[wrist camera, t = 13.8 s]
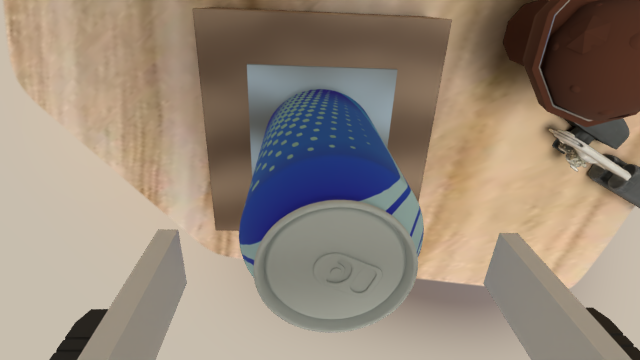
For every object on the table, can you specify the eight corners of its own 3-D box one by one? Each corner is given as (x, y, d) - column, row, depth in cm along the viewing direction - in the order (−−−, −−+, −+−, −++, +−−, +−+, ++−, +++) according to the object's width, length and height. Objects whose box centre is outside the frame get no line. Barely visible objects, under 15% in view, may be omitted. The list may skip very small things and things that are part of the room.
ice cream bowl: (576, -70, 29) (818, -132, 15) (609, 53, 33) (820, 89, 20) (454, 12, 31) (572, 20, 17) (500, 117, 35) (623, 188, 22)
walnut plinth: (212, 7, 30) (191, 8, 24) (425, 16, 31) (453, 19, 25) (227, 197, 38) (215, 232, 32) (397, 199, 39) (413, 233, 33)
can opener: (526, 137, 37) (557, 156, 32) (576, 83, 34) (617, 96, 30) (638, 220, 42) (679, 247, 37) (688, 179, 40) (737, 202, 35)
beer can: (294, 200, 31) (288, 369, 17) (246, 113, 28) (186, 234, 13) (386, 161, 30) (464, 309, 16) (348, 66, 26) (403, 142, 12)
